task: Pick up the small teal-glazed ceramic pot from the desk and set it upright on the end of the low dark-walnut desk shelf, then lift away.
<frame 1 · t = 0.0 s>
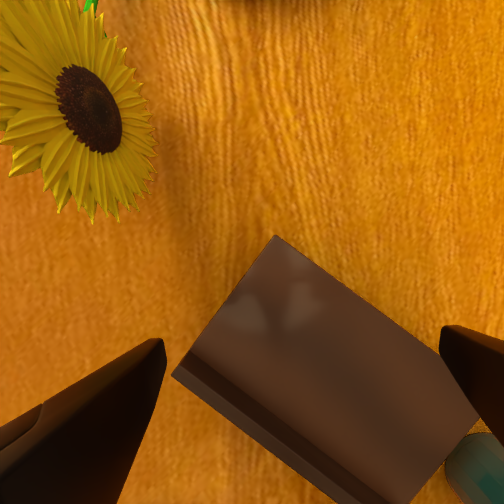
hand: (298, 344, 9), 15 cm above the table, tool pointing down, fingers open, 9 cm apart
desk shelf: (323, 356, 24), on the table
decorative plant: (135, 72, 25), on the table
glazed pot: (483, 469, 24), on the table
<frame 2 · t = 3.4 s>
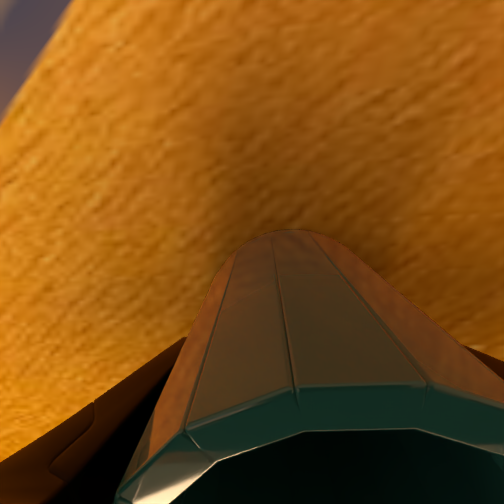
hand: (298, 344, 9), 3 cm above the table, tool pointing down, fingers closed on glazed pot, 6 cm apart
glazed pot: (290, 307, 11), on the table, touching gripper
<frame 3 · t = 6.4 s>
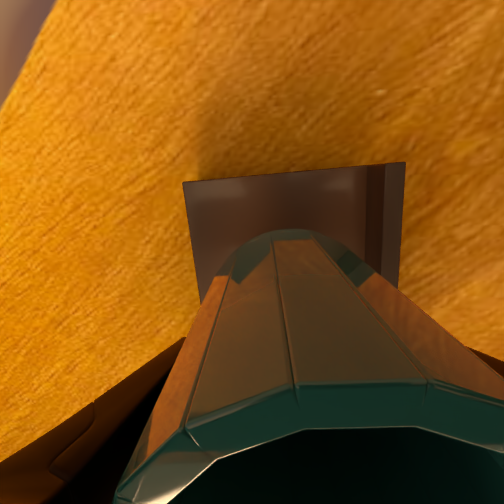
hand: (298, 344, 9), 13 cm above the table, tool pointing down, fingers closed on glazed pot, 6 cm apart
desk shelf: (284, 297, 23), on the table
glazed pot: (289, 306, 11), point 11 cm above the table, touching gripper
when the fingers open (7 cm above the table, at t = 9.6 s): glazed pot stays where it is, resting on desk shelf.
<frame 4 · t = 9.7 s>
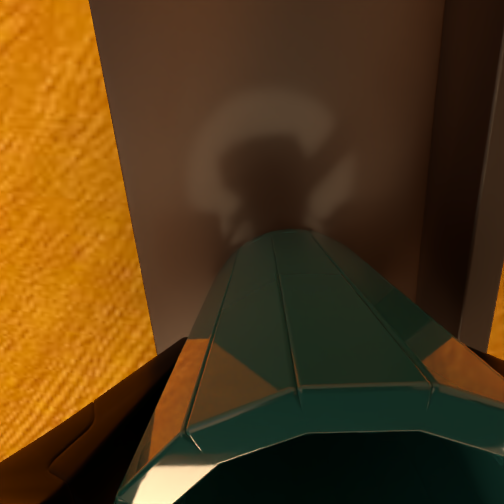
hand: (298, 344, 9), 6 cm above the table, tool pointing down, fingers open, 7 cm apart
desk shelf: (279, 192, 14), on the table
glazed pot: (290, 307, 11), point 4 cm above the table, touching desk shelf
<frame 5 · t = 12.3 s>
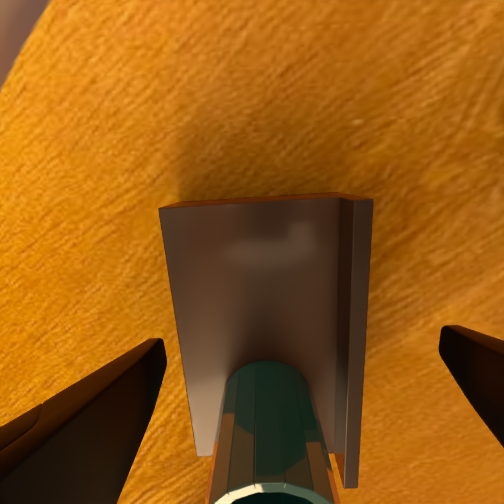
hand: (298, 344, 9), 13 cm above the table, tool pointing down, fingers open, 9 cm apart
desk shelf: (263, 317, 23), on the table
glazed pot: (267, 398, 20), point 4 cm above the table, touching desk shelf
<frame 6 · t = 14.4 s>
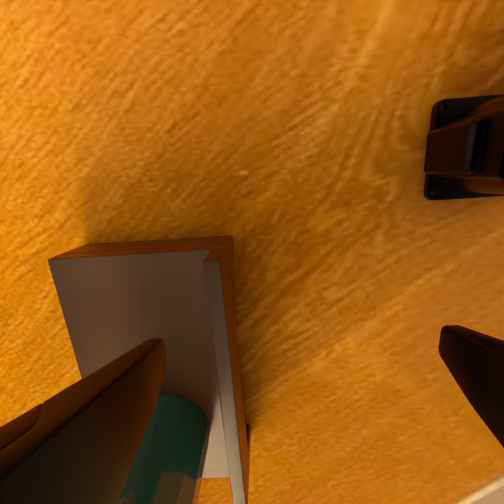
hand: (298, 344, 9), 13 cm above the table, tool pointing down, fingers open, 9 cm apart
desk shelf: (175, 348, 24), on the table
glazed pot: (168, 427, 22), point 4 cm above the table, touching desk shelf
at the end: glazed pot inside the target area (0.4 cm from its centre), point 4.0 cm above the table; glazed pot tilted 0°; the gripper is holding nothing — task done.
